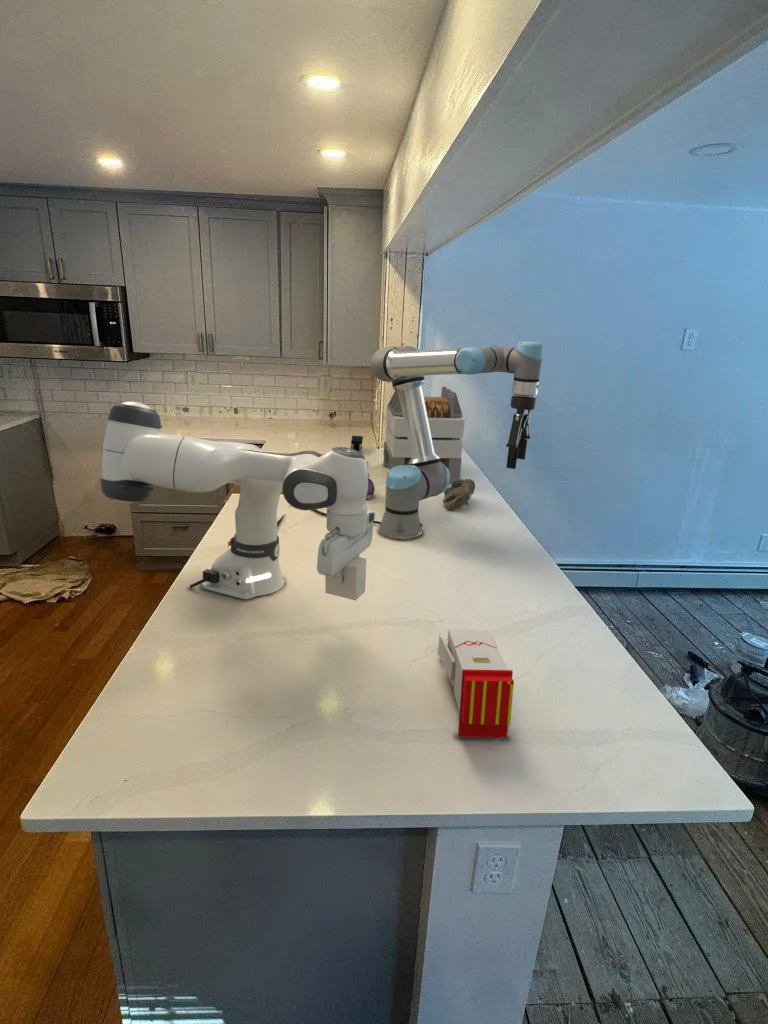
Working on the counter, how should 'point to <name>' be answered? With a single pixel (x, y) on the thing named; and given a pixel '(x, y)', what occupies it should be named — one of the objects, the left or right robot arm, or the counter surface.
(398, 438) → the slatted wooden crate
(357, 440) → the figurine character
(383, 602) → the counter surface
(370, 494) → the figurine
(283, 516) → the feather
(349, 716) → the counter surface
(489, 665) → the toy
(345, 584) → the block
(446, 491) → the fossil
